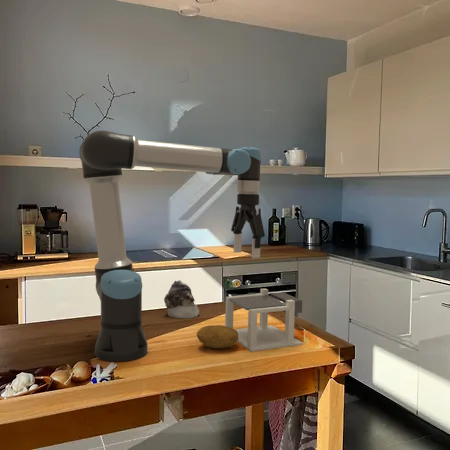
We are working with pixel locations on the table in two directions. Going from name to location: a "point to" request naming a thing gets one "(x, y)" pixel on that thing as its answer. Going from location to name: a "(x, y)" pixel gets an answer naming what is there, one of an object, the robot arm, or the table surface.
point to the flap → (267, 301)
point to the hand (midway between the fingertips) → (246, 255)
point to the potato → (217, 336)
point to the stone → (180, 301)
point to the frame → (264, 326)
